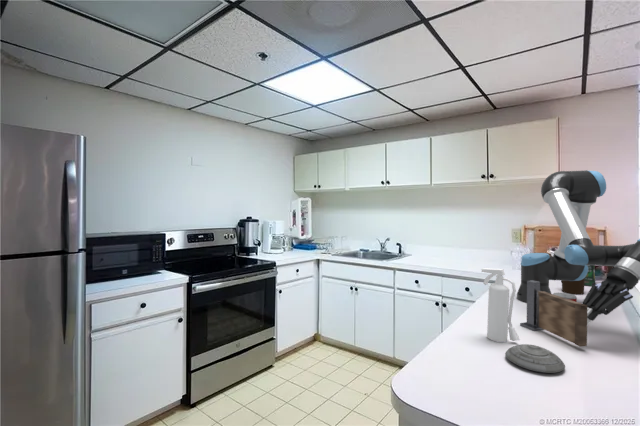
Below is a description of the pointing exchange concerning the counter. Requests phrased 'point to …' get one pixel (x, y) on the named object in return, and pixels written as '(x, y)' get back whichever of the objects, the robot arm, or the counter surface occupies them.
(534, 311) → the gate post
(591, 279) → the coffee jar
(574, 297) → the canned food
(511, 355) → the flying saucer
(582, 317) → the gate
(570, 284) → the olive oil
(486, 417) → the counter surface
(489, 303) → the fire extinguisher
